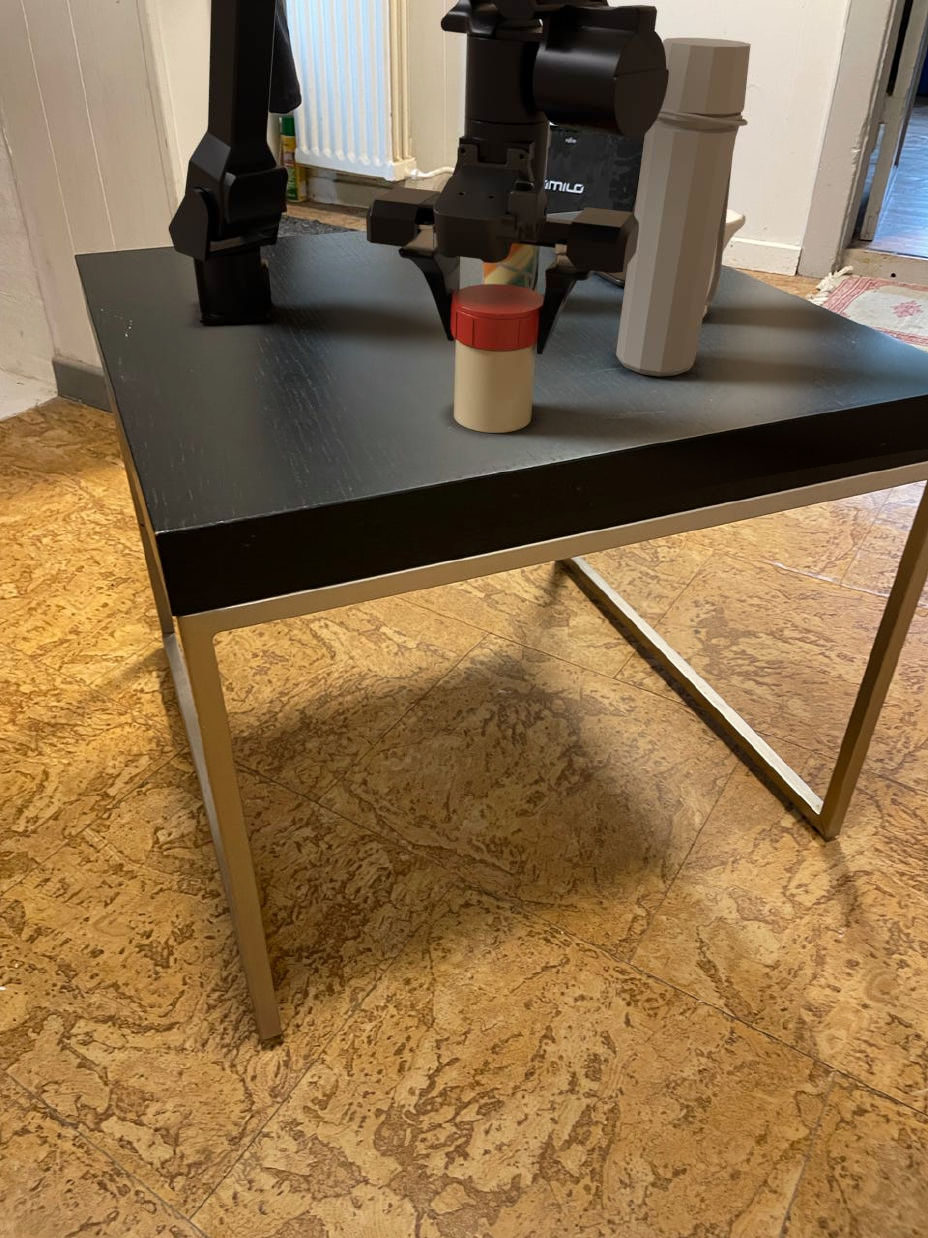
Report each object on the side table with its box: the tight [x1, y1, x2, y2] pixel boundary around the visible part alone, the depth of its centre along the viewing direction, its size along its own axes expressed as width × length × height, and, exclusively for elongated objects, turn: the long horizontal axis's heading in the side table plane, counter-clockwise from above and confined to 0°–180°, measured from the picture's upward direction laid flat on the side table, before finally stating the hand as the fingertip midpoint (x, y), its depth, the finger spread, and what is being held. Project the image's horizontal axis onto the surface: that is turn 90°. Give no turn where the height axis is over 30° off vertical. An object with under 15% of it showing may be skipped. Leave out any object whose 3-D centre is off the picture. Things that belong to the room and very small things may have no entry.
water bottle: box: [615, 37, 752, 377], centre depth 78 cm, size 9×8×25 cm
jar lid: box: [450, 283, 544, 350], centre depth 70 cm, size 7×7×3 cm
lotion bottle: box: [481, 243, 541, 293], centre depth 91 cm, size 6×6×20 cm
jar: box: [453, 339, 537, 434], centre depth 72 cm, size 6×6×9 cm
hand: (495, 346), depth 71 cm, fingers closed on jar lid, 7 cm apart
